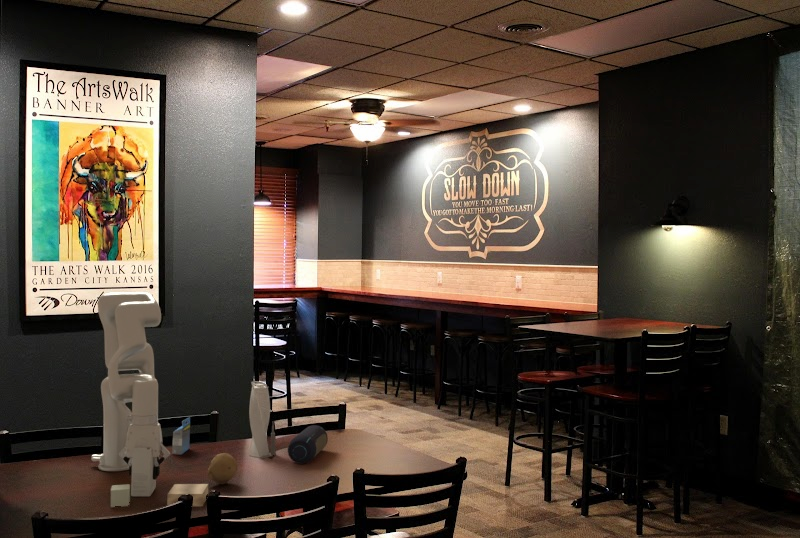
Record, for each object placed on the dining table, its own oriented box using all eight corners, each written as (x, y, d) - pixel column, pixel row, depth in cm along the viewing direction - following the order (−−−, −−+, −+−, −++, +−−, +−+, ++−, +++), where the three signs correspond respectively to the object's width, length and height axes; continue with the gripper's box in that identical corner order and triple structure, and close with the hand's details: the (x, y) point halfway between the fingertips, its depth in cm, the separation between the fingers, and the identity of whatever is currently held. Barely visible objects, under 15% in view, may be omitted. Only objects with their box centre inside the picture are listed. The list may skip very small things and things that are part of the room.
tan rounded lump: (243, 485, 250) (243, 453, 250) (218, 490, 244) (219, 458, 244) (227, 478, 257) (228, 448, 257) (203, 484, 251) (203, 453, 251)
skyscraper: (260, 460, 282) (261, 382, 282) (243, 457, 286) (244, 380, 286) (276, 455, 289) (277, 379, 289) (259, 452, 293) (260, 377, 293)
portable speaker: (312, 467, 273) (313, 438, 273) (285, 465, 275) (285, 437, 275) (329, 449, 298) (330, 423, 298) (304, 448, 299) (304, 422, 299)
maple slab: (167, 507, 228) (167, 494, 228) (174, 497, 238) (174, 484, 238) (202, 507, 229) (202, 493, 229) (208, 496, 239) (208, 483, 239)
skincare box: (137, 488, 244) (137, 441, 244) (157, 488, 245) (157, 441, 244) (130, 497, 236) (130, 448, 236) (151, 497, 237) (151, 447, 236)
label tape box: (179, 448, 296) (179, 416, 296) (190, 448, 296) (190, 416, 296) (171, 454, 288) (172, 421, 287) (182, 454, 287) (183, 421, 287)
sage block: (110, 507, 227) (110, 490, 227) (111, 502, 232) (112, 485, 232) (129, 506, 228) (129, 489, 228) (129, 500, 233) (129, 484, 233)
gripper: (112, 422, 236) (111, 481, 236) (170, 422, 236) (169, 482, 237) (120, 416, 243) (119, 474, 244) (176, 417, 244) (175, 475, 244)
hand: (144, 477), depth 240 cm, fingers closed on skincare box, 6 cm apart
